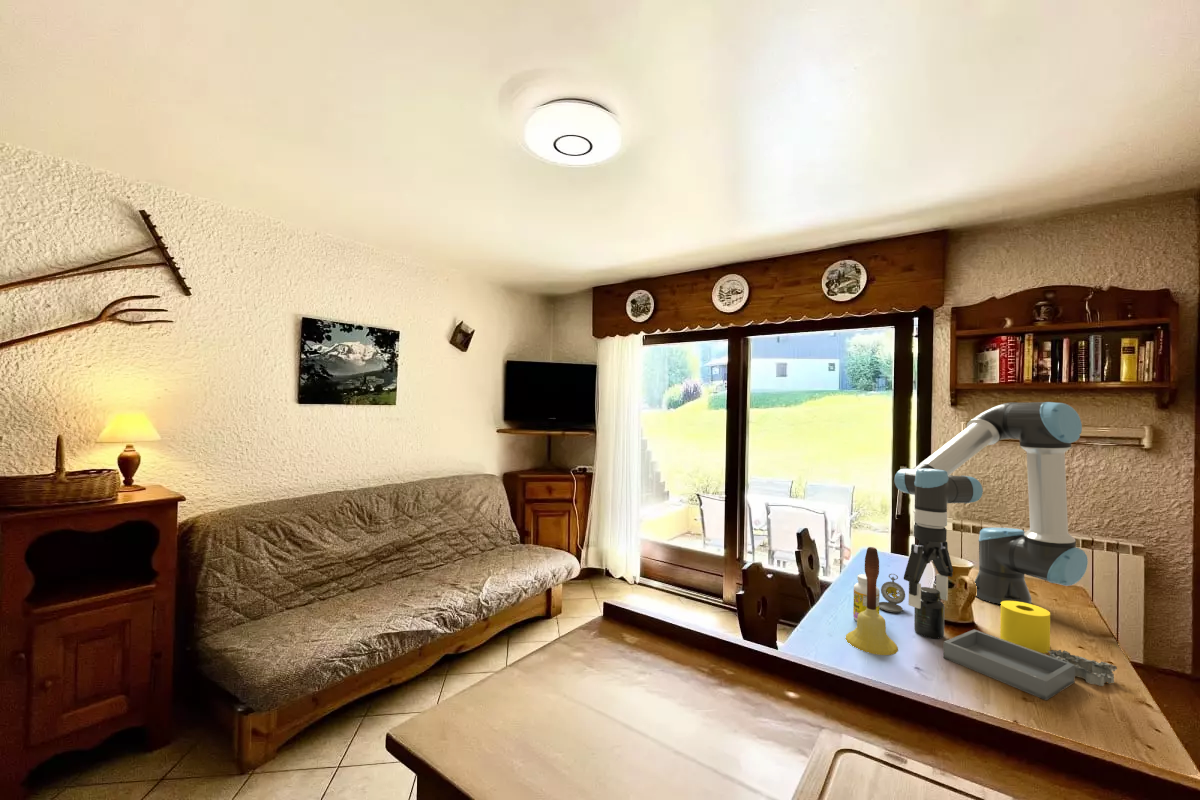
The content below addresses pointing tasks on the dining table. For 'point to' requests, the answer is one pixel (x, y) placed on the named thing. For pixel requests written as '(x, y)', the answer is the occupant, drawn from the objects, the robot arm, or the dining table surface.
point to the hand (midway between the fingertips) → (928, 602)
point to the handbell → (871, 616)
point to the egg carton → (1087, 668)
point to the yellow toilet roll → (1025, 625)
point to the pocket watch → (892, 602)
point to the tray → (1010, 663)
